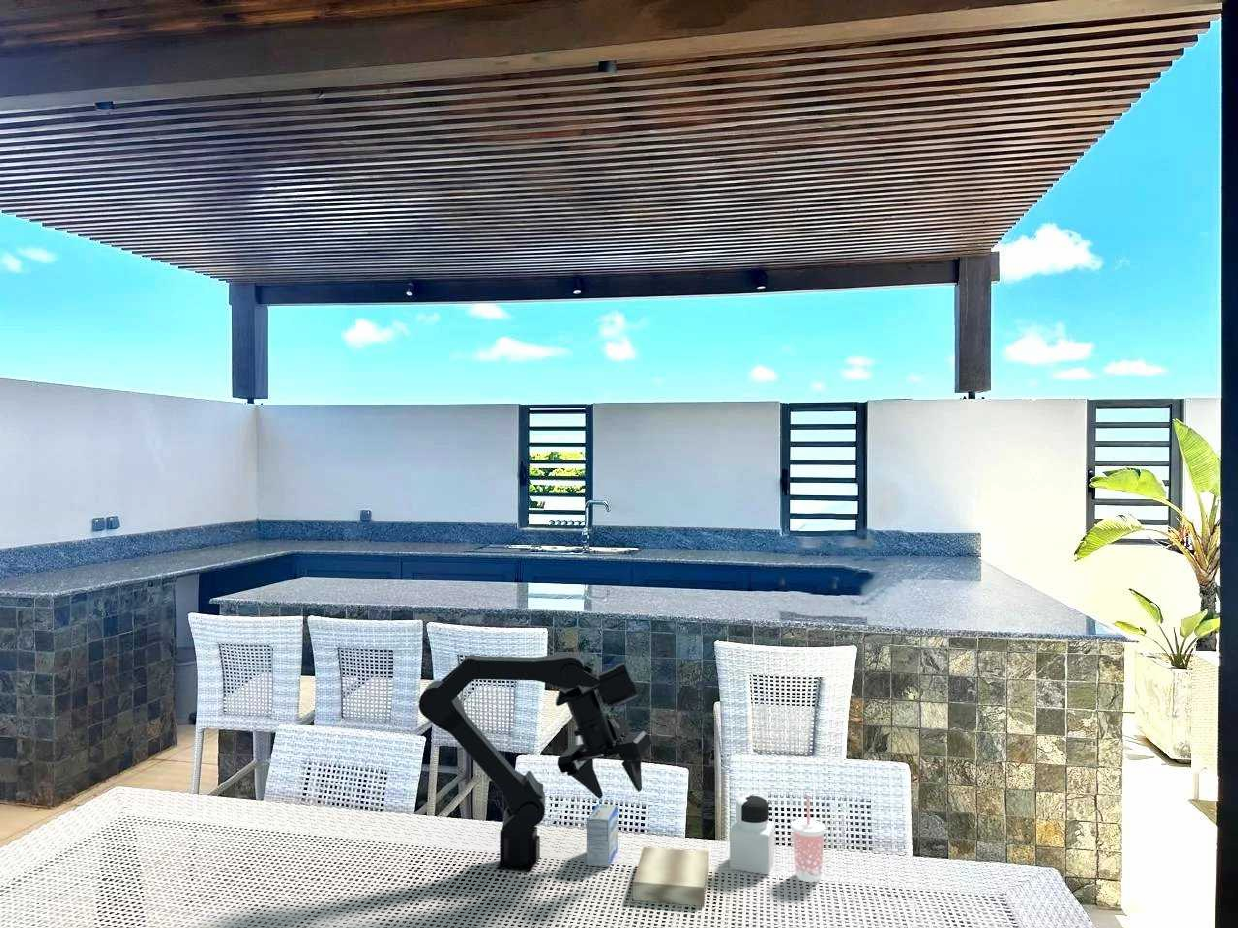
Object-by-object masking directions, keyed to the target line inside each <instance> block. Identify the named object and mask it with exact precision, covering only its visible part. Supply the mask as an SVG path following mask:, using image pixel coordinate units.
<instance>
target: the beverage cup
mask: <svg viewBox="0 0 1238 928" xmlns="http://www.w3.org/2000/svg"><path fill="white" fill-rule="evenodd" d="M810 799H811V798H810V796H806V818H799V819H795V820H793V821H792V822H790V827H791V828H790V829H791V831H792V841H793V853H794V856H793V857H794V871H795V877H796V876H797V877H798V878H799V880H800V881H802V880H803V881H802V882H806V883H816V882H820V881H821V880H822V877H823V864H824V863H823V862H824V861H823V860H824V846H825V845H824V844H825V843H824V841H825V834H826V829H827V828H826V827H827V826H826V825H825V824H824V823H823V822H821V821H818V820H815V819H811V817H810V816H811V815H810V814H811V813H810V811H811V808H810V807H811V805H810V804H811V803H810ZM797 877H796V878H797ZM798 878H797V879H798Z"/></svg>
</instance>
